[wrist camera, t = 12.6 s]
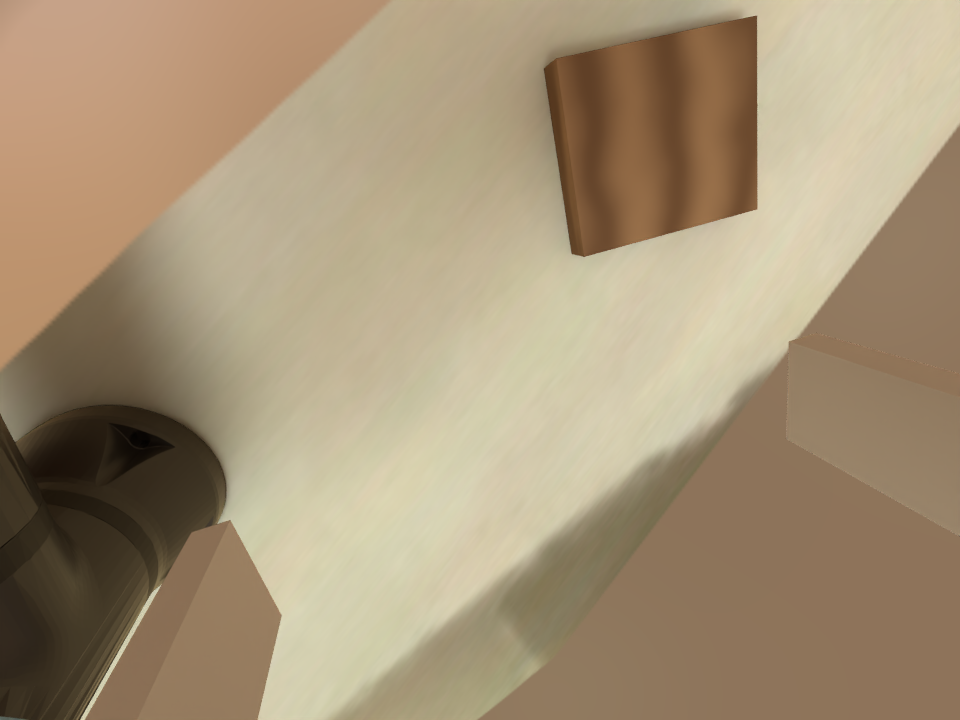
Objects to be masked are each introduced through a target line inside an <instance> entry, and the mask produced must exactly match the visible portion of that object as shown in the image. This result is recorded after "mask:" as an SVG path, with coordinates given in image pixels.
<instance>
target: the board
mask: <svg viewBox="0 0 960 720" xmlns="http://www.w3.org/2000/svg"><path fill="white" fill-rule="evenodd" d="M544 73H545V79H546V86H547V93H548V99H549V106H550V112H551V119H552V126H553V132H554V139H555V146H556V152H557V159H558V165H559V172H560V179H561V185H562V192H563V199H564V205H565V212H566V218H567V225H568V232H569V238H570V245H571V252H572V254H575V255H579V256H583V257H585V256H589V255H592V254H596V253H600V252H603V251H607V250H611V249H614V248H618V247H622V246H625V245H629V244H632V243H636V242H640V241H643V240H647V239H651V238H654V237H658V236H662V235H665V234H669V233H672V232H676V231H680V230H683V229H687V228H691V227H694V226H698V225H702V224H705V223H709V222H713V221H716V220H720V219H723V218H727V217H731V216H734V215H738V214H742V213H745V212H749V211H753V210H756V209H757V16H752V17H748V18H743V19H738V20H734V21H729V22H724V23H720V24H715V25H710V26H706V27H701V28H696V29H692V30H687V31H682V32H678V33H673V34H668V35H664V36H659V37H654V38H650V39H645V40H640V41H636V42H631V43H626V44H622V45H617V46H612V47H608V48H603V49H598V50H594V51H589V52H584V53H580V54H575V55H570V56H566V57H561V58H556V59H555V60H554V61H553V62H551V63H550V64H549V65H548V66H547V67H545V68H544Z"/></svg>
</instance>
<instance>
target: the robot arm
mask: <svg viewBox="0 0 960 720" xmlns="http://www.w3.org/2000/svg"><path fill="white" fill-rule="evenodd" d="M788 354H789V355H788V396H787V398H788V399H787V437H786V438H787V439H788V440H790V441H791V442H793V443H795V444H797V445H798V446H800V447H802V448H804V449H805V450H807V451H809V452H811V453H812V454H814V455H816V456H818V457H820V458H821V459H823V460H825V461H827V462H829V463H830V464H832V465H834V466H836V467H837V468H839V469H841V470H843V471H844V472H846V473H848V474H850V475H851V476H853V477H855V478H857V479H859V480H860V481H862V482H864V483H866V484H867V485H869V486H871V487H873V488H875V489H876V490H878V491H880V492H882V493H884V494H885V495H887V496H889V497H890V498H892V499H894V500H896V501H898V502H899V503H901V504H903V505H905V506H907V507H908V508H910V509H912V510H914V511H916V512H917V513H919V514H921V515H922V516H924V517H926V518H928V519H930V520H931V521H933V522H935V523H937V524H938V525H940V526H942V527H944V528H946V529H948V530H949V531H951V532H953V533H954V534H956V535H958V536H960V374H959V373H955V372H952V371H948V370H945V369H941V368H938V367H934V366H931V365H927V364H924V363H920V362H917V361H913V360H909V359H906V358H903V357H899V356H895V355H892V354H889V353H885V352H882V351H878V350H875V349H871V348H868V347H864V346H861V345H857V344H853V343H850V342H846V341H843V340H839V339H836V338H832V337H829V336H825V335H822V334H818V333H815V334H811V335H808V336H805V337H802V338H799V339H795V340H792V341H789V353H788ZM225 498H226V486H225V479H224V475H223V472H222V469H221V467H220V465H219V462H218V461H217V459H216V457H215V455H214V454H213V453H212V451H211V450H210V449H209V447H208V446H207V445H206V444H205V443H204V442H203V441H202V440H201V439H200V438H199V437H198V436H197V435H195V434H194V433H193V432H192V431H190V430H189V429H187V428H186V427H184V426H183V425H181V424H180V423H178V422H176V421H174V420H172V419H170V418H168V417H165V416H163V415H160V414H157V413H154V412H151V411H148V410H144V409H139V408H134V407H127V406H115V405H105V406H92V407H86V408H80V409H76V410H72V411H69V412H66V413H63V414H61V415H58V416H56V417H54V418H52V419H50V420H48V421H46V422H45V423H43V424H42V425H40V426H39V427H37V428H35V429H34V430H32V431H31V432H29V433H28V434H26V435H25V436H23V437H22V438H21V439H19V440H18V441H17V442H16V443H15V442H14V440H13V438H12V436H11V434H10V432H9V430H8V428H7V426H6V424H5V423H4V421H3V419H2V416H1V414H0V720H80V719H81V717H82V715H83V713H84V712H85V710H86V708H87V706H88V705H89V703H90V701H91V699H92V697H93V696H94V694H95V692H96V690H97V689H98V687H99V685H100V683H101V681H102V680H103V678H104V676H105V674H106V673H107V671H108V669H109V667H110V665H111V664H112V662H113V660H114V658H115V657H116V655H117V653H118V651H119V649H120V648H121V646H122V644H123V642H124V640H125V639H126V637H127V635H128V633H129V632H130V630H131V628H132V626H133V624H134V623H135V621H136V619H137V617H138V616H139V614H140V612H141V610H142V608H143V606H144V605H145V603H146V601H147V600H148V598H149V596H150V594H151V593H152V592H153V591H154V590H155V589H156V588H158V587H159V586H160V585H161V584H162V585H161V587H160V589H159V590H158V592H157V594H156V596H155V597H154V599H153V601H152V603H151V605H150V606H149V608H148V610H147V612H146V613H145V615H144V617H143V619H142V620H141V622H140V624H139V626H138V627H137V629H136V631H135V633H134V634H133V636H132V638H131V640H130V642H129V643H128V645H127V647H126V649H125V650H124V652H123V654H122V656H121V657H120V659H119V661H118V663H117V664H116V666H115V668H114V670H113V671H112V673H111V675H110V677H109V678H108V680H107V682H106V684H105V686H104V687H103V689H102V691H101V693H100V694H99V696H98V698H97V700H96V701H95V703H94V705H93V707H92V708H91V710H90V712H89V714H88V715H87V717H86V719H85V720H257V719H258V715H259V711H260V706H261V702H262V698H263V693H264V689H265V685H266V680H267V676H268V672H269V667H270V663H271V659H272V655H273V650H274V646H275V642H276V637H277V633H278V629H279V624H280V620H281V616H282V615H281V613H280V612H279V610H278V608H277V606H276V604H275V602H274V600H273V599H272V597H271V595H270V593H269V591H268V589H267V587H266V586H265V584H264V582H263V580H262V578H261V576H260V574H259V573H258V571H257V569H256V567H255V565H254V563H253V561H252V560H251V558H250V556H249V554H248V552H247V550H246V548H245V547H244V545H243V543H242V541H241V539H240V537H239V535H238V534H237V532H236V530H235V528H234V526H233V524H232V522H231V521H230V520H229V521H226V522H222V523H219V524H217V522H218V520H219V519H220V516H221V514H222V511H223V508H224V504H225Z"/></svg>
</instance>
